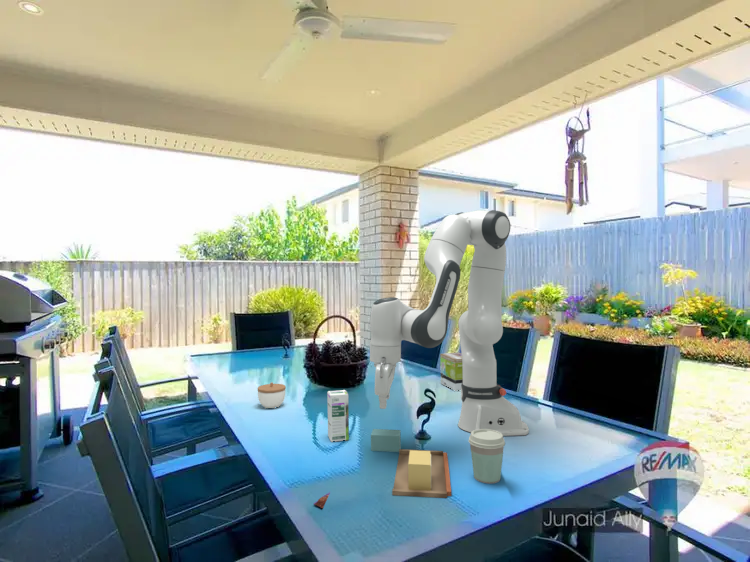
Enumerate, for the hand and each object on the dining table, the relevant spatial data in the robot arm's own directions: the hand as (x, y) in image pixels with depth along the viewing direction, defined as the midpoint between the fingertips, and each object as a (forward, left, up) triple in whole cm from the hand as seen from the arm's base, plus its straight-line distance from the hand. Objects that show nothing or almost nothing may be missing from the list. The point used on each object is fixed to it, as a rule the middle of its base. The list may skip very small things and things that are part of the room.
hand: (384, 403), depth 124 cm
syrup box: (+16, -10, -14) cm, 24 cm away
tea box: (-25, -79, -15) cm, 84 cm away
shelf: (-10, +15, -14) cm, 23 cm away
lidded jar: (+49, -41, -15) cm, 66 cm away
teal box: (0, 0, -14) cm, 14 cm away
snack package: (+8, +27, -15) cm, 32 cm away
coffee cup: (-26, +16, -14) cm, 34 cm away
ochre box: (-10, +20, -13) cm, 26 cm away
